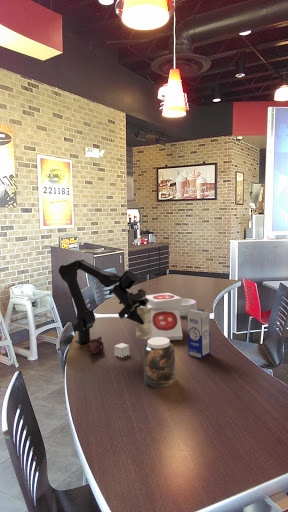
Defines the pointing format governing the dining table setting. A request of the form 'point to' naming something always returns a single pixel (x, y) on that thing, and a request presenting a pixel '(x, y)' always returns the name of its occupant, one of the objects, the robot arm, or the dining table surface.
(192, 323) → the milk carton
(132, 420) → the dining table surface
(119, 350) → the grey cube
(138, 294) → the robot arm
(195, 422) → the dining table surface
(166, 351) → the jar
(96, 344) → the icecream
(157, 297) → the pizza boxes
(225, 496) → the dining table surface
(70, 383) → the dining table surface
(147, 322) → the birch block
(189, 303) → the paper bowls
